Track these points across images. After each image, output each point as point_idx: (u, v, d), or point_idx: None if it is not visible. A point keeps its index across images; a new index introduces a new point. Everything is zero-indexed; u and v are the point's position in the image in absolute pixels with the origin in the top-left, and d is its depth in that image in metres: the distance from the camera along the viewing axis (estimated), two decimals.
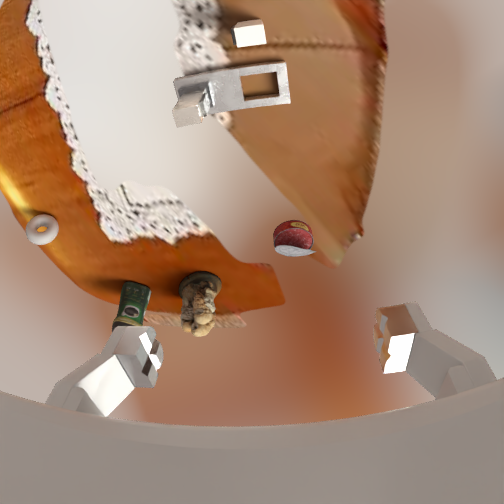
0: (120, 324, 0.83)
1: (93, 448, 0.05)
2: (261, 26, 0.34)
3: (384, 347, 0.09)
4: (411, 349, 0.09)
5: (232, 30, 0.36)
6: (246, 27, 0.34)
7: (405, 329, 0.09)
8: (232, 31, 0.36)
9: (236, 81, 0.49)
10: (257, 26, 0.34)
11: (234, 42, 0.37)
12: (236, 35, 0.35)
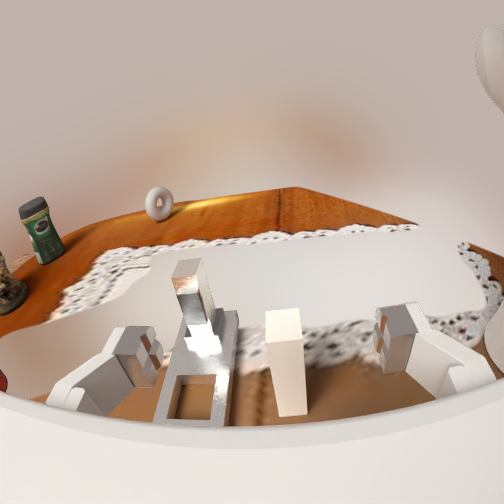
0: (42, 206, 0.72)
1: (93, 448, 0.05)
2: (298, 336, 0.25)
3: (384, 347, 0.09)
4: (411, 349, 0.09)
5: None
6: (298, 321, 0.26)
7: (405, 329, 0.09)
8: None
9: (209, 370, 0.35)
10: (299, 332, 0.25)
11: None
12: (286, 310, 0.28)
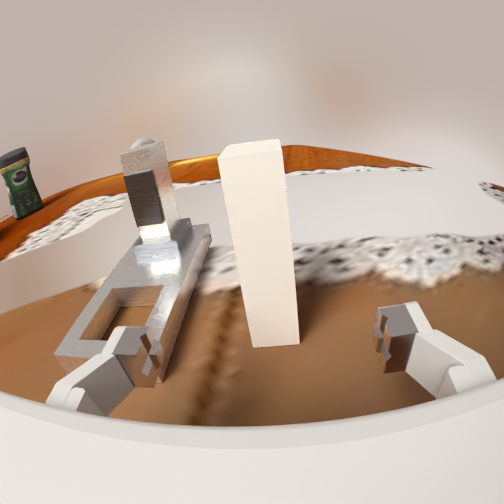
0: (22, 155, 0.62)
1: (93, 448, 0.05)
2: (275, 149, 0.14)
3: (384, 347, 0.09)
4: (411, 350, 0.09)
5: None
6: (277, 144, 0.16)
7: (405, 329, 0.09)
8: None
9: (156, 280, 0.25)
10: (276, 147, 0.15)
11: None
12: (259, 141, 0.17)
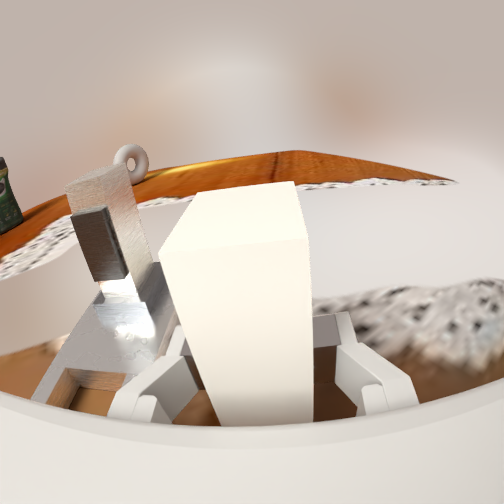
0: None
1: (93, 448, 0.05)
2: (292, 232, 0.06)
3: None
4: (336, 361, 0.09)
5: None
6: (292, 201, 0.08)
7: (327, 340, 0.09)
8: None
9: (117, 364, 0.17)
10: (293, 221, 0.07)
11: None
12: (255, 186, 0.09)
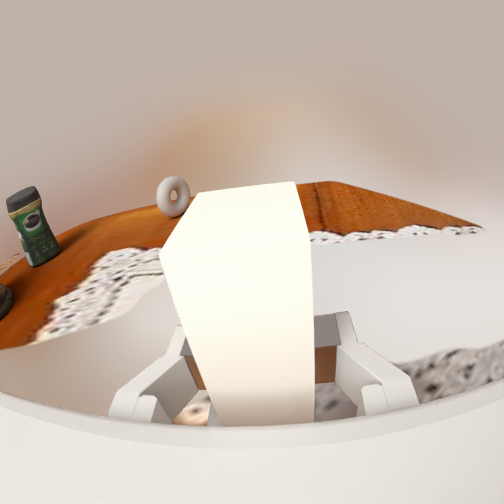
0: (33, 197, 0.59)
1: (93, 448, 0.05)
2: (293, 232, 0.06)
3: None
4: (336, 362, 0.09)
5: None
6: None
7: (327, 340, 0.09)
8: None
9: None
10: (295, 221, 0.07)
11: None
12: (256, 186, 0.09)
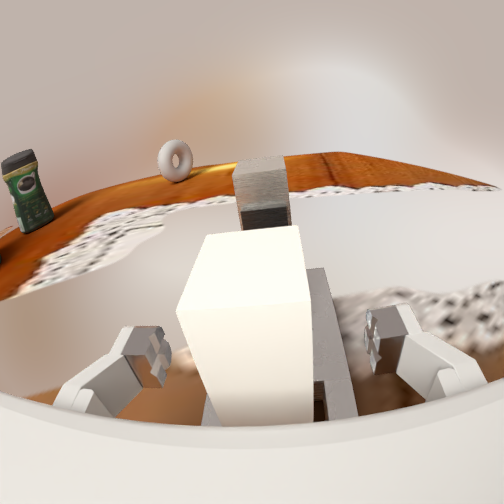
0: (29, 159, 0.54)
1: (93, 448, 0.05)
2: (296, 293, 0.07)
3: (374, 349, 0.09)
4: (401, 351, 0.09)
5: None
6: (296, 252, 0.09)
7: (395, 331, 0.09)
8: None
9: None
10: (298, 279, 0.07)
11: None
12: (262, 230, 0.10)
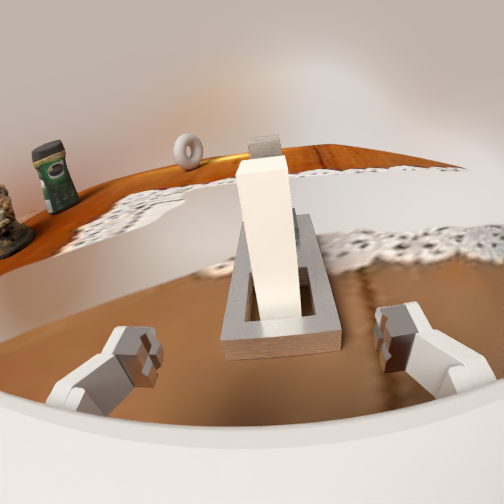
0: (58, 148, 0.65)
1: (93, 448, 0.05)
2: (282, 167, 0.18)
3: (384, 347, 0.09)
4: (411, 349, 0.09)
5: None
6: (283, 161, 0.19)
7: (405, 329, 0.09)
8: None
9: None
10: (283, 165, 0.18)
11: None
12: (268, 157, 0.21)
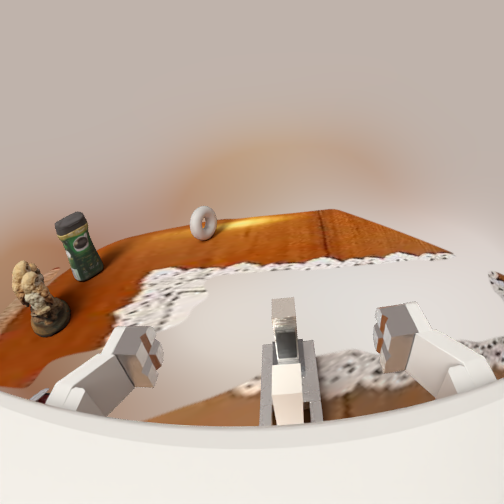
0: (81, 222, 0.76)
1: (93, 448, 0.05)
2: (299, 390, 0.28)
3: (384, 347, 0.09)
4: (411, 349, 0.09)
5: None
6: (299, 375, 0.30)
7: (405, 329, 0.09)
8: None
9: None
10: (299, 386, 0.29)
11: None
12: (289, 365, 0.32)
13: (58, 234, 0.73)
